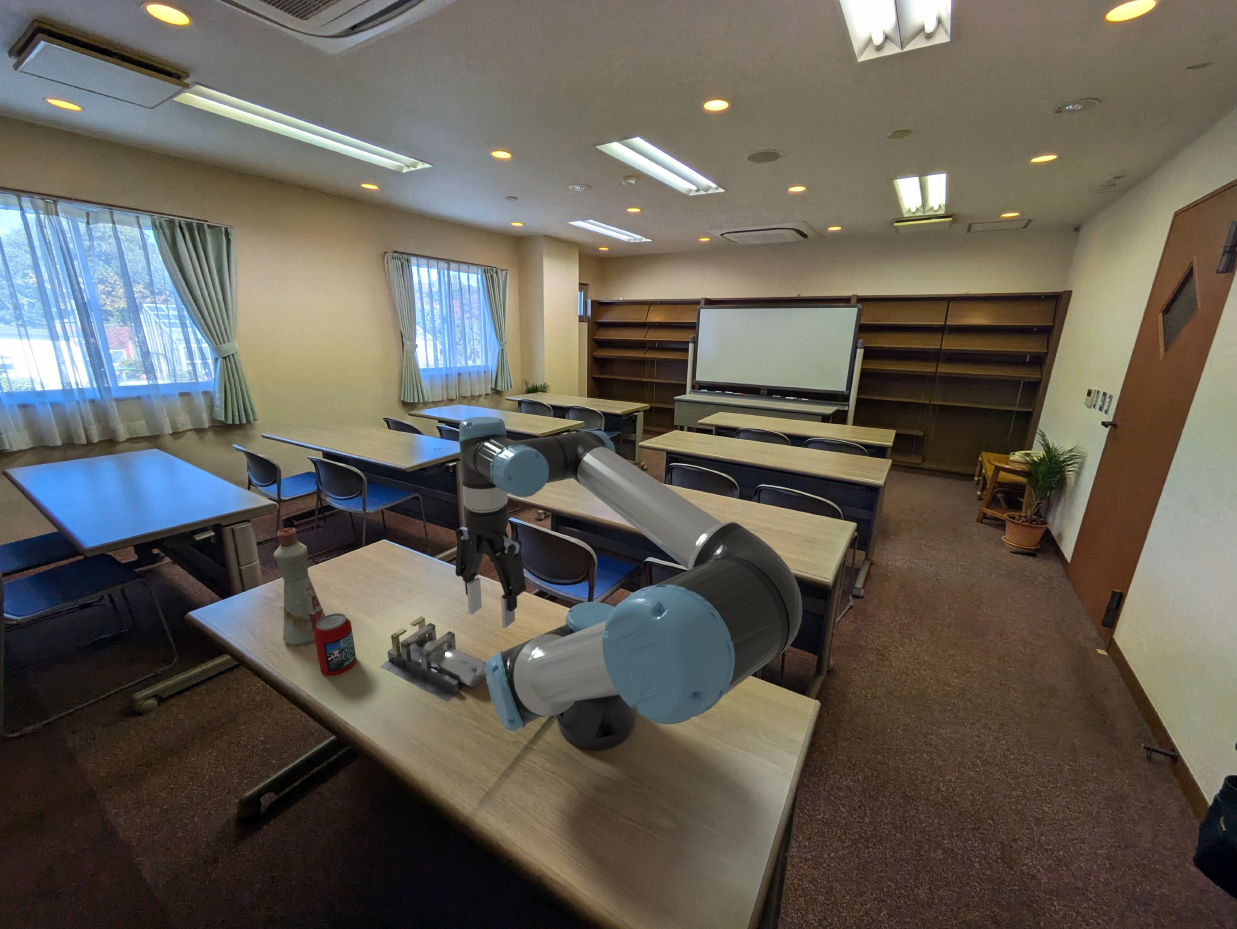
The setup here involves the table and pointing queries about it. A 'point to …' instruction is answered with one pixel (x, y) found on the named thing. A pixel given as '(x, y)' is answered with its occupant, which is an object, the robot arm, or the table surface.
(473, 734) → the table surface
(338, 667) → the beverage can
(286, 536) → the bottle
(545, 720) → the table surface
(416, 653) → the grey slotted rack
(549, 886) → the table surface
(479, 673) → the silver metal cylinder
